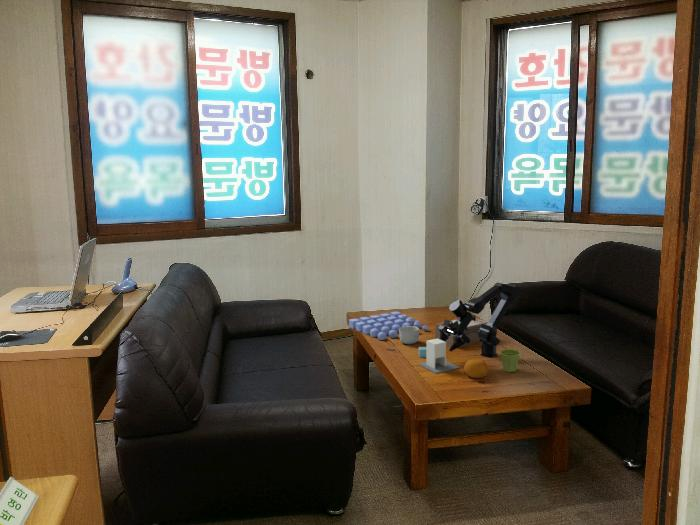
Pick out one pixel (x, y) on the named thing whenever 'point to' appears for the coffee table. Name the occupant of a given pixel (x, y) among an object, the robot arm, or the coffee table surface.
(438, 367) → the mat
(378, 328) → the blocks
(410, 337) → the teacup
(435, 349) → the tall white pillar
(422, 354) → the block
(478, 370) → the fruit
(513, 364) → the plant pot
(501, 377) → the coffee table surface
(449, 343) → the tissue box cover
